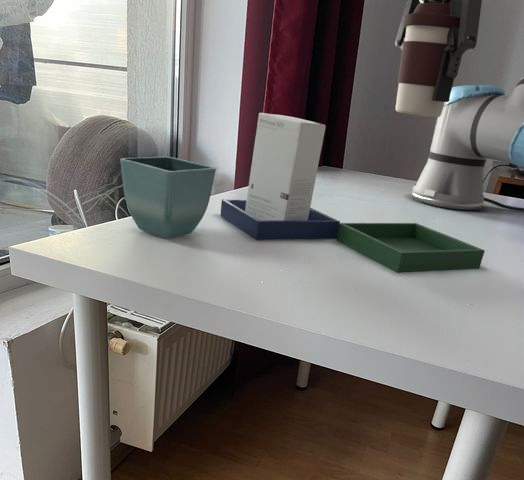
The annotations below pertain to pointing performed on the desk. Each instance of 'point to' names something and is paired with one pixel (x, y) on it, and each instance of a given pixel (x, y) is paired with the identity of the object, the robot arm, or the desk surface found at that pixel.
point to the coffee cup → (423, 58)
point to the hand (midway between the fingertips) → (421, 98)
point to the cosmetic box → (284, 167)
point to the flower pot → (166, 193)
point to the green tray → (409, 247)
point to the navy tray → (279, 224)
